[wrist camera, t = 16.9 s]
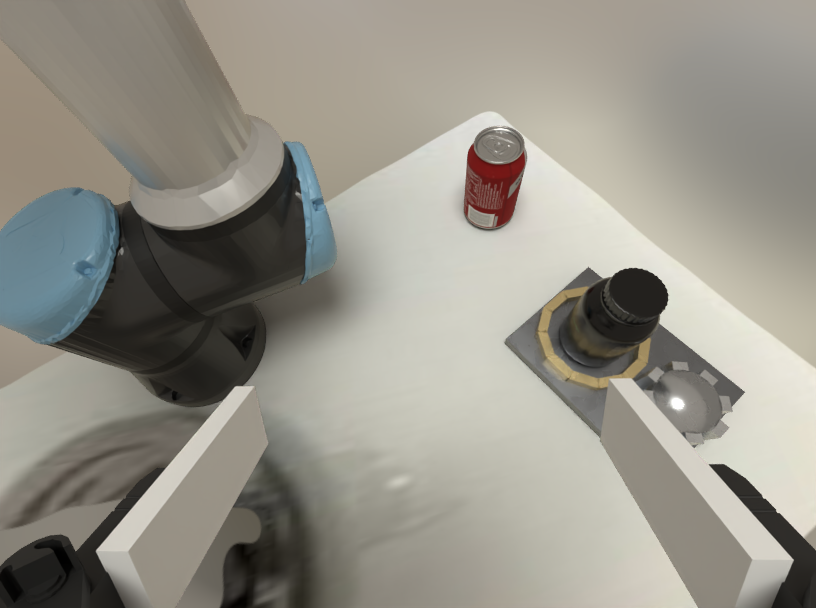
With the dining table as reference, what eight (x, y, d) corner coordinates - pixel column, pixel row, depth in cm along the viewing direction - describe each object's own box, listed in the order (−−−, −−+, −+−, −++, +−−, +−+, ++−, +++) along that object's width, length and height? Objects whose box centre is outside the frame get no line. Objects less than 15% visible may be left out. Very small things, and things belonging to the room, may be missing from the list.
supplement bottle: (628, 324, 44) (689, 272, 33) (613, 378, 42) (673, 342, 31) (568, 302, 46) (607, 247, 35) (550, 353, 43) (586, 311, 32)
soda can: (492, 240, 52) (505, 176, 41) (453, 214, 54) (455, 147, 43) (523, 208, 53) (542, 139, 42) (483, 184, 56) (493, 113, 45)
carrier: (504, 343, 46) (511, 328, 41) (584, 273, 49) (598, 251, 44) (651, 487, 38) (678, 488, 34) (735, 395, 41) (771, 384, 37)
